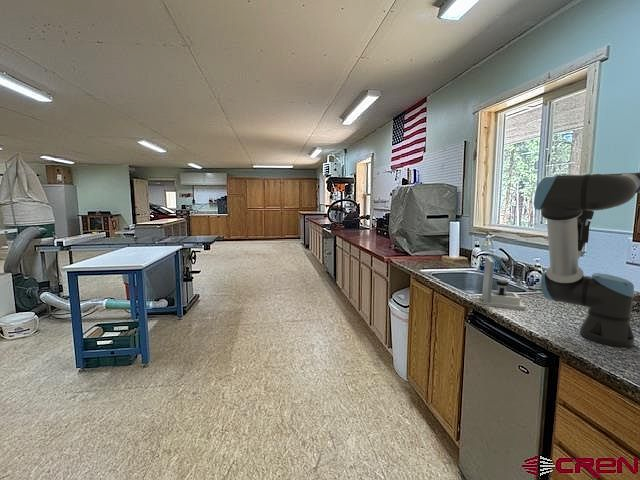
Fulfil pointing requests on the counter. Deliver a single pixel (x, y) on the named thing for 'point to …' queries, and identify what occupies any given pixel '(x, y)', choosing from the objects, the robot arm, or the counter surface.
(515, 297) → the holder
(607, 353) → the counter surface
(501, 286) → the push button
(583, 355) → the counter surface
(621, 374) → the counter surface
